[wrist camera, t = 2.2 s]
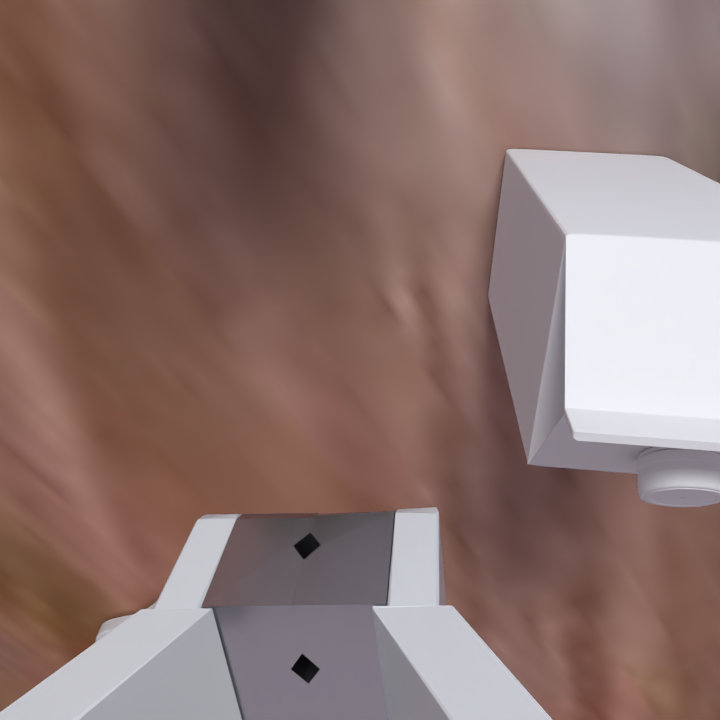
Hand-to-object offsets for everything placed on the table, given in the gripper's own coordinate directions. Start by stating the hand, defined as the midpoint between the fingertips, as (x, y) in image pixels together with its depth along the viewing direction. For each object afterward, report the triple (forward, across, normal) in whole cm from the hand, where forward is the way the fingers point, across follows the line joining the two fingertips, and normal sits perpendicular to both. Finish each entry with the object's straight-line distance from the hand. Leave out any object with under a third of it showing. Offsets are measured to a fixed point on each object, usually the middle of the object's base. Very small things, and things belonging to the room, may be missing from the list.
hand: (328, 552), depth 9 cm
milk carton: (+26, -8, +3) cm, 27 cm away
